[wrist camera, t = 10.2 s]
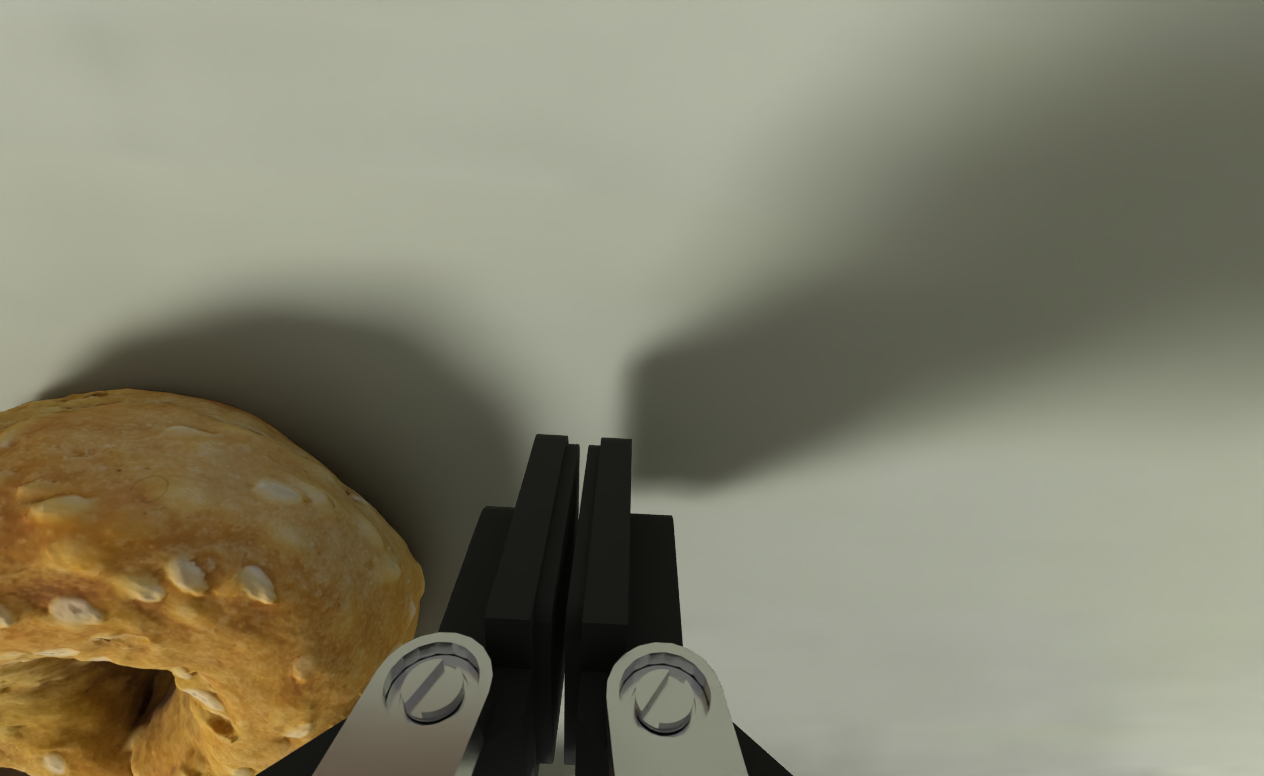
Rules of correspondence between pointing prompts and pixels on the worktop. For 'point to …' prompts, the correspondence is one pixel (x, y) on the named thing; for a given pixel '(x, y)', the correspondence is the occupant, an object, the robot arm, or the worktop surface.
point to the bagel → (182, 589)
